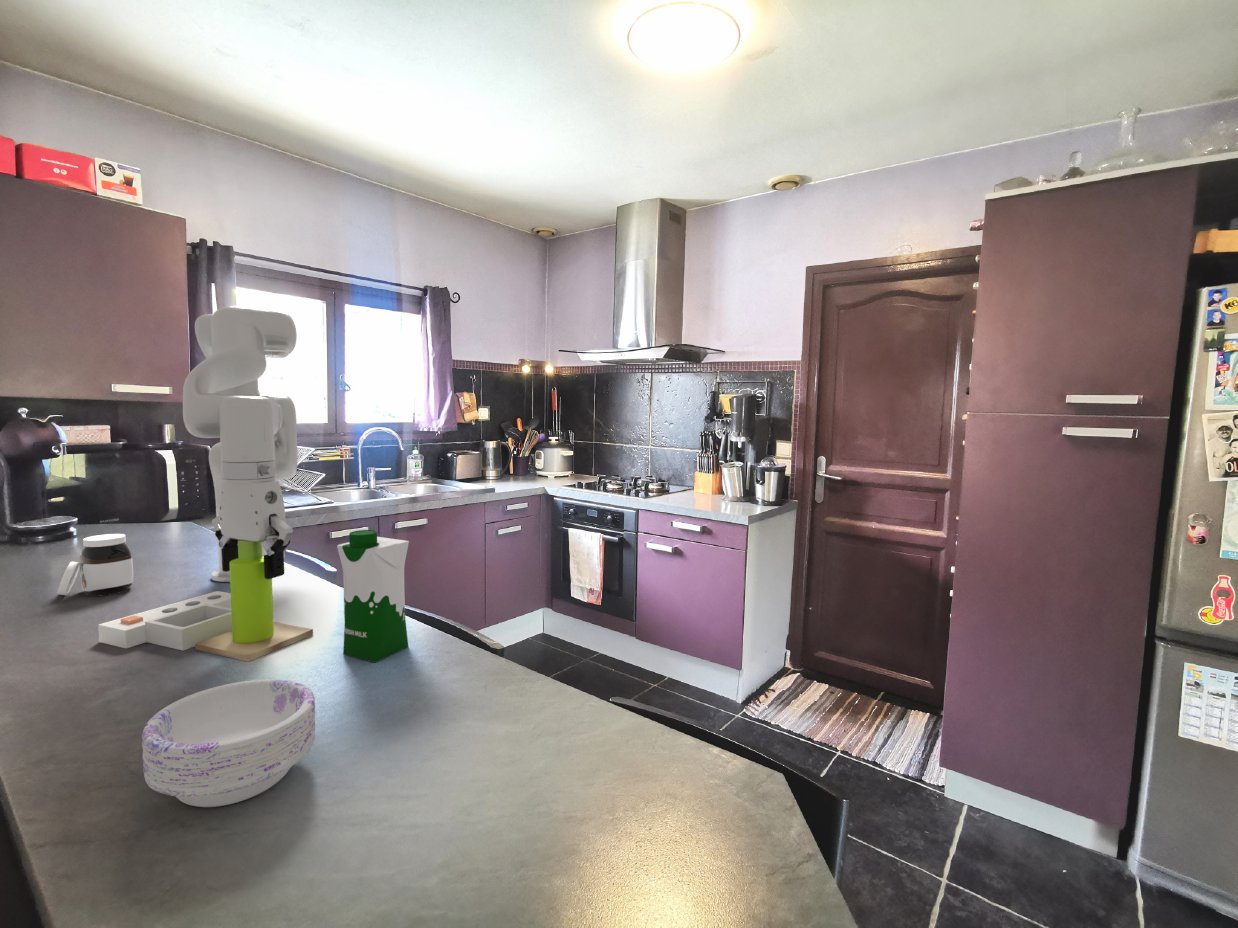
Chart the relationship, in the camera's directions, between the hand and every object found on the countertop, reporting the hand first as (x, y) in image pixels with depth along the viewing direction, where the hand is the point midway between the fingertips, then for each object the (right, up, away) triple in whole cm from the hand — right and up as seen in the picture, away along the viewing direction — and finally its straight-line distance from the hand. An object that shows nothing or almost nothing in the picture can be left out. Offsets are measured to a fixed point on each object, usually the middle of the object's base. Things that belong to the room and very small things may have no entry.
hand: (253, 573), depth 99 cm
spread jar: (-49, -9, +26) cm, 56 cm away
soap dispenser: (0, -11, +1) cm, 11 cm away
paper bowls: (+20, -16, -36) cm, 44 cm away
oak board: (0, -12, +1) cm, 12 cm away
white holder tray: (-14, -11, +6) cm, 19 cm away
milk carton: (+21, -12, -2) cm, 25 cm away
